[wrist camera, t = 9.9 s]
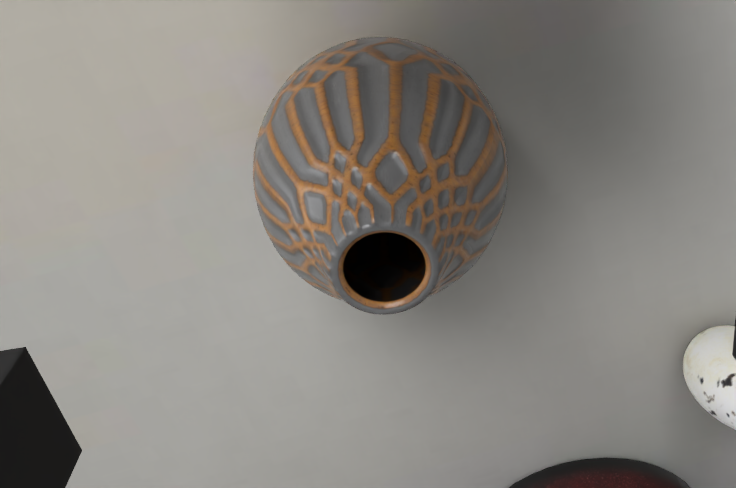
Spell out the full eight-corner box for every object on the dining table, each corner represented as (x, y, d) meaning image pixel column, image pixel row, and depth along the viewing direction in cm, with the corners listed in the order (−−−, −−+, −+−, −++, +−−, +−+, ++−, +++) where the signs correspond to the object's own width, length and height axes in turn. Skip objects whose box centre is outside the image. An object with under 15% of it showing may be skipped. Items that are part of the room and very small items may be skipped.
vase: (226, 91, 22) (154, 229, 15) (415, -35, 20) (445, 48, 13) (347, 250, 25) (340, 432, 18) (522, 153, 23) (598, 310, 16)
